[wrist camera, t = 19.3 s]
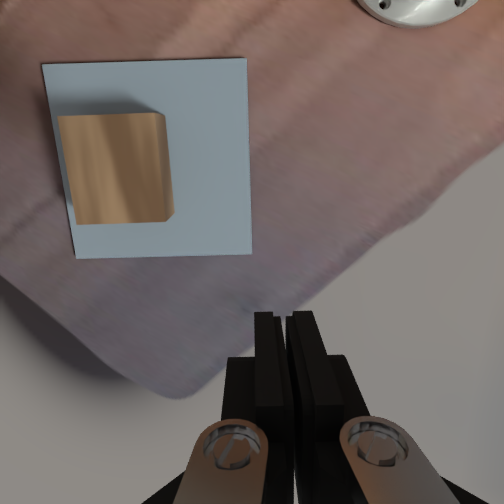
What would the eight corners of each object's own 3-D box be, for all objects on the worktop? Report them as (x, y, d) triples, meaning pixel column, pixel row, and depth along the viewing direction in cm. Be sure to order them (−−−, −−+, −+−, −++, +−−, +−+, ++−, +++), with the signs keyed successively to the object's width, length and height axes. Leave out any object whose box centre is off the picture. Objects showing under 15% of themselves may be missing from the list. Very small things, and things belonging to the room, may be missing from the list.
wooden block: (154, 112, 27) (57, 116, 27) (165, 222, 29) (76, 225, 29) (165, 115, 30) (79, 118, 30) (175, 212, 32) (95, 215, 32)
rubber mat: (246, 59, 29) (246, 58, 29) (252, 252, 34) (252, 254, 34) (45, 65, 29) (41, 64, 29) (78, 256, 34) (76, 258, 34)
